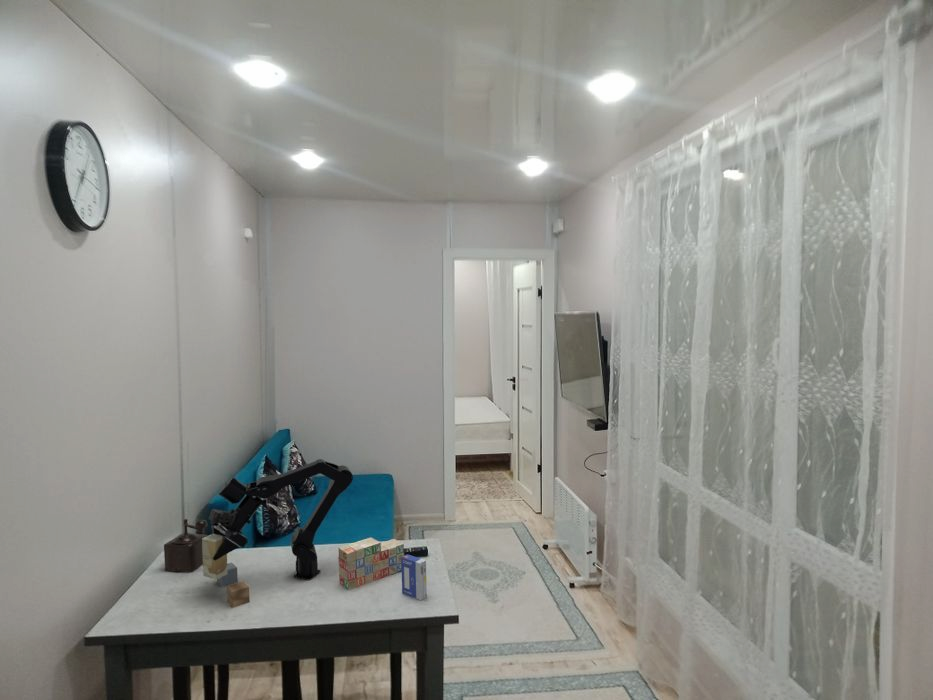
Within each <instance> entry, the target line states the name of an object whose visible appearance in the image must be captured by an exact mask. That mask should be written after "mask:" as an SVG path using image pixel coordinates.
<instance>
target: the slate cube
mask: <svg viewBox="0 0 933 700" xmlns="http://www.w3.org/2000/svg"><path fill="white" fill-rule="evenodd" d="M238 580H239V579H238V566H236V565H235V564H234V563H233V562H232V561H231V562H229V563H228V562H227V575H225V576H223V577H221V578H219V579H217V580H216V582H217V584H219V586H220V587H221V588H223V587H227V586H228V585H231V584H235V583H238V582H239V581H238Z"/></svg>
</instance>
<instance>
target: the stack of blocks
mask: <svg viewBox="0 0 933 700" xmlns="http://www.w3.org/2000/svg"><path fill="white" fill-rule="evenodd" d="M404 544H405V543H402V542H401V541H399V540H397V539H395V538H391V539H389V540H386V541H382V542H381V541H378V540H377V539H375V538H373V537H368V538H365V539H362V540H358V541H356V542H352V543H348V544H346V545H342V546H339V547H338V559H337V560H338V572H339V574H338V575H339V584H340V585H341V586H343V587H344V588H345V589H346V590H348V591H349V590H352V589H355V588H358V587H361V586H364V585H367V584H370V583H372V582H375V581H377V580H380V579H383V578H386V577H388V576H391V575H394V574H397V573H399V572H402V562H401V557H403V556H405V545H404Z"/></svg>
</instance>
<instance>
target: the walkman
mask: <svg viewBox="0 0 933 700" xmlns="http://www.w3.org/2000/svg"><path fill="white" fill-rule="evenodd" d="M401 562H402V571H401V593H402V594H404V595H405V596H409V597H411V598H413V599H415V600H416V599H417V600H419V601H422V600H423V599H426V598H427V597H428V596H427V595H428V593H427V592H428V591H427V590H428V589H427V560H426V559H422V558H420V557H417V556H413V555H410V554H408V553H407V554H404V556H403V557H401Z"/></svg>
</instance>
